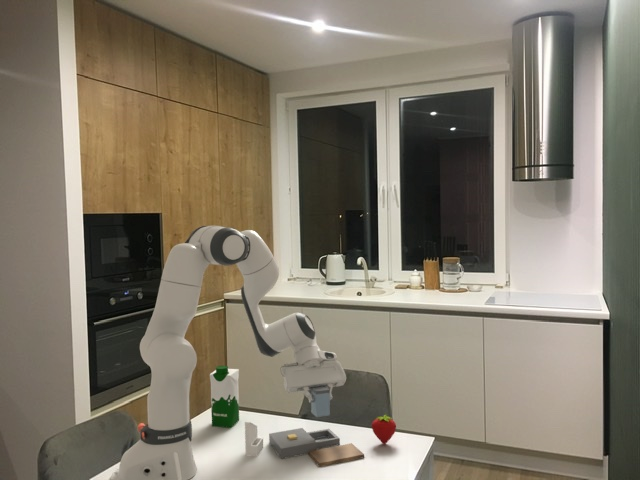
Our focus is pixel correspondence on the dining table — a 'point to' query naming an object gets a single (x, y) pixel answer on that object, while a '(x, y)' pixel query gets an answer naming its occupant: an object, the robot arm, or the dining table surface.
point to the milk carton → (224, 397)
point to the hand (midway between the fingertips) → (321, 400)
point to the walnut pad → (336, 454)
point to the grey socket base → (301, 441)
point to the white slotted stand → (252, 440)
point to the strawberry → (384, 428)
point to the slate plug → (320, 401)
